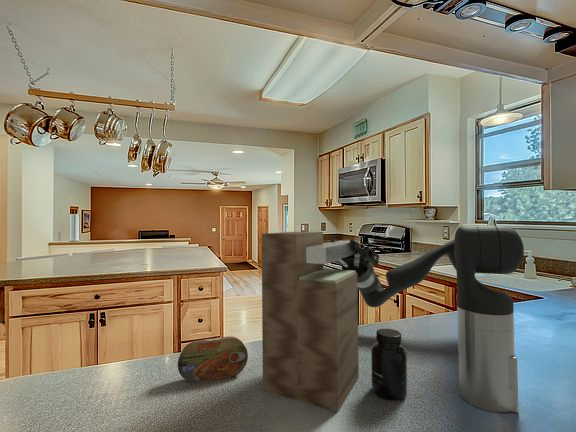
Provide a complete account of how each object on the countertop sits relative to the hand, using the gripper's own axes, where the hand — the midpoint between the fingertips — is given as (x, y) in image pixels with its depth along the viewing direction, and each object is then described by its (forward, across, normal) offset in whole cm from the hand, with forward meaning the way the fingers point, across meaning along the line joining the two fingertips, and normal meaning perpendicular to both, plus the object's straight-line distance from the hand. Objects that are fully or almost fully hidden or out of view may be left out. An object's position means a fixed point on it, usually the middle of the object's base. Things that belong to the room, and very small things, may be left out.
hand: (341, 242), depth 73 cm
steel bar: (+3, 0, -5) cm, 5 cm away
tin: (-1, +25, -34) cm, 42 cm away
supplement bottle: (-10, -11, -28) cm, 32 cm away
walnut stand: (-7, +4, -30) cm, 31 cm away
